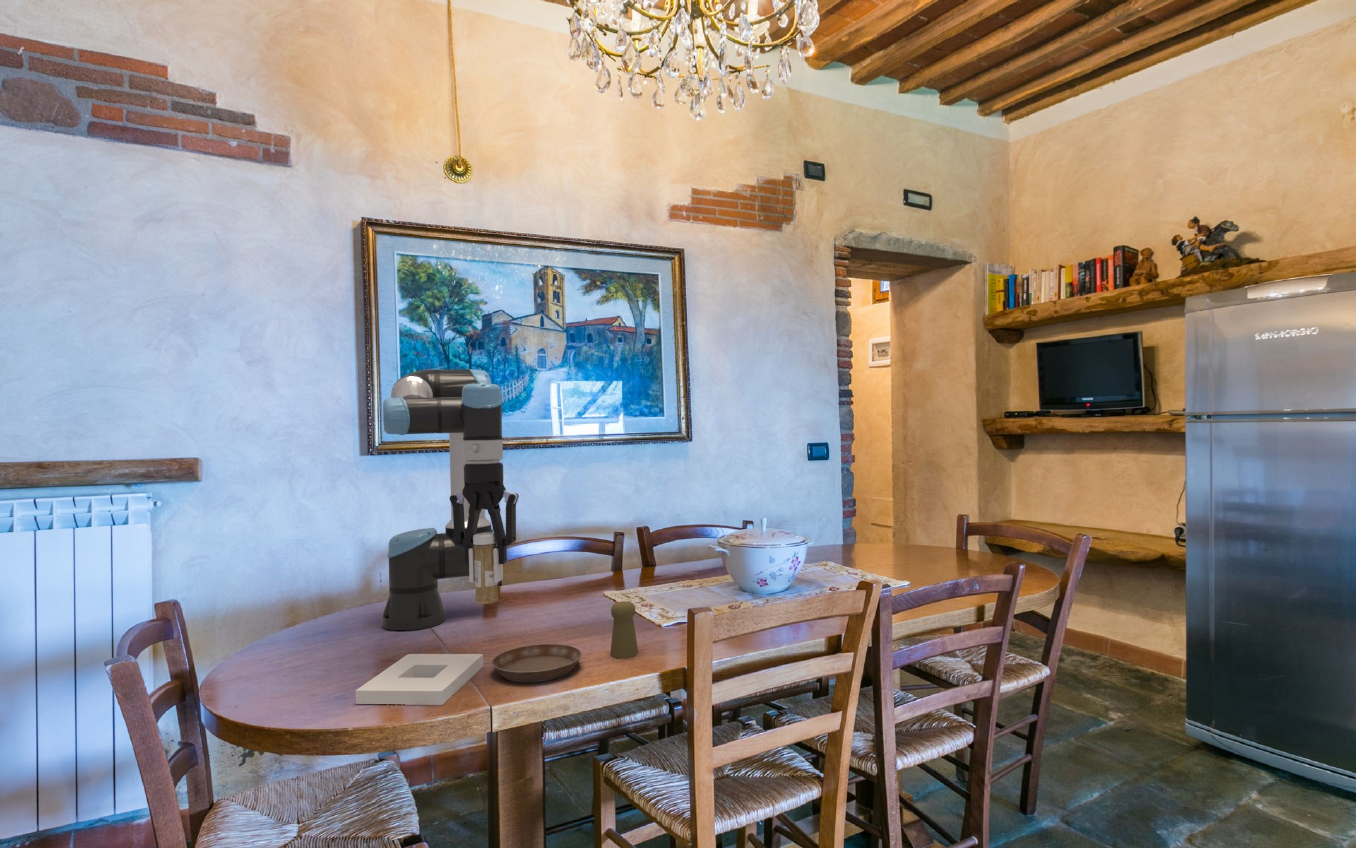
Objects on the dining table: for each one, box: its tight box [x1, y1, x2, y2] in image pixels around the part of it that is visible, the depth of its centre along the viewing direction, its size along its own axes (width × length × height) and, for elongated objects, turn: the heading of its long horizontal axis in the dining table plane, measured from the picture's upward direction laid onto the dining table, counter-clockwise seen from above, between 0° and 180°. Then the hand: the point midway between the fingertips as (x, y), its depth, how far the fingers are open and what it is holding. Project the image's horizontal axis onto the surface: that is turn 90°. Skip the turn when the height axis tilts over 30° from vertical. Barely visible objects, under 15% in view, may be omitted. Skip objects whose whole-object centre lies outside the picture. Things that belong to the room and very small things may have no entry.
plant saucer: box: [491, 643, 583, 684], centre depth 140 cm, size 18×18×3 cm
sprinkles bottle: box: [473, 533, 499, 605], centre depth 137 cm, size 5×5×13 cm
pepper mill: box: [609, 600, 639, 660], centre depth 149 cm, size 6×6×11 cm
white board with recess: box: [355, 653, 484, 706], centre depth 134 cm, size 20×16×2 cm
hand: (486, 580), depth 137 cm, fingers closed on sprinkles bottle, 4 cm apart
